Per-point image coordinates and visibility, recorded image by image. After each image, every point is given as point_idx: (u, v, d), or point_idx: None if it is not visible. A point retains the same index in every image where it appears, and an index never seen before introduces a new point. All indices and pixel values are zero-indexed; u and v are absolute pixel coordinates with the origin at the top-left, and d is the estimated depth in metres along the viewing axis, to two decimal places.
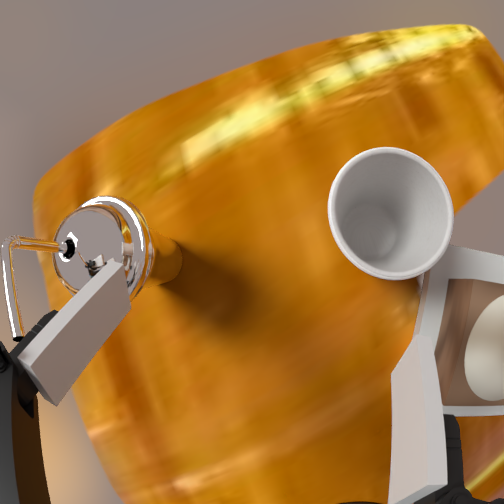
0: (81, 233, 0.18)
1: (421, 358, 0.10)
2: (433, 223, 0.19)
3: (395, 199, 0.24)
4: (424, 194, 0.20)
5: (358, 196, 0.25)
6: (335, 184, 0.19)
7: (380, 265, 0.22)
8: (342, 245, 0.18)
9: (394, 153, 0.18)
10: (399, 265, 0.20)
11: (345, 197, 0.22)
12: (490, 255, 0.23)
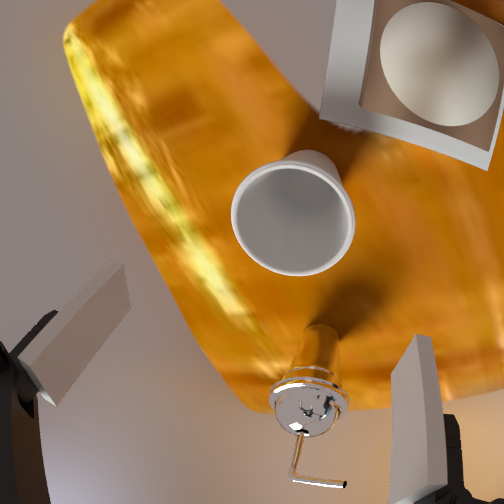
0: (293, 425, 0.27)
1: (421, 358, 0.10)
2: None
3: None
4: None
5: (275, 201, 0.28)
6: (269, 268, 0.23)
7: (341, 206, 0.23)
8: (320, 270, 0.22)
9: (237, 214, 0.22)
10: None
11: (277, 229, 0.26)
12: (333, 46, 0.21)
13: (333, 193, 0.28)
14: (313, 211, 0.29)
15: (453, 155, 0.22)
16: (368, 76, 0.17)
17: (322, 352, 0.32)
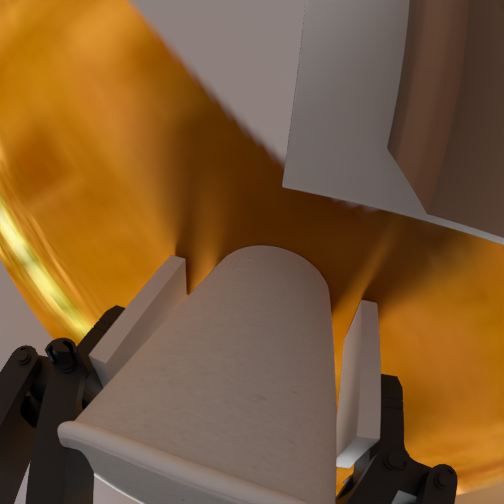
0: None
1: (363, 320, 0.12)
2: None
3: None
4: None
5: None
6: None
7: None
8: None
9: None
10: None
11: None
12: None
13: None
14: None
15: None
16: (465, 74, 0.03)
17: None
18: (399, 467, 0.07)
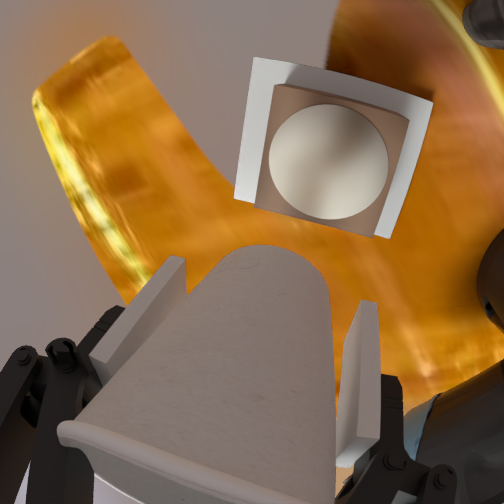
0: None
1: (363, 320, 0.12)
2: None
3: None
4: None
5: None
6: None
7: None
8: None
9: None
10: None
11: None
12: (244, 135, 0.28)
13: None
14: None
15: None
16: (259, 180, 0.25)
17: None
18: (399, 467, 0.07)
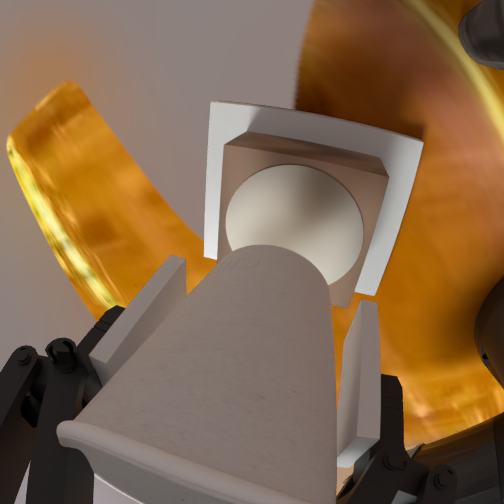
0: None
1: (363, 320, 0.12)
2: None
3: None
4: None
5: None
6: None
7: None
8: None
9: None
10: None
11: None
12: (208, 191, 0.26)
13: None
14: None
15: None
16: (218, 251, 0.23)
17: None
18: (399, 467, 0.07)
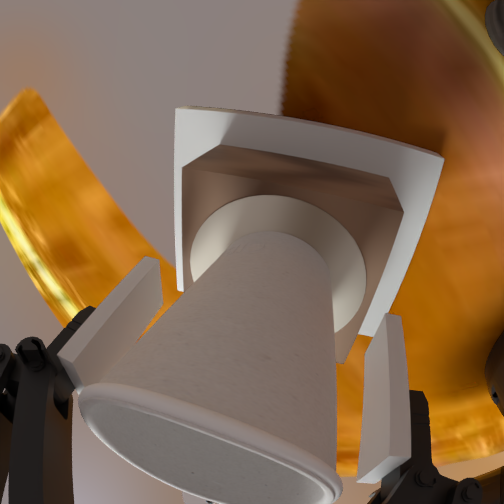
0: None
1: (388, 335, 0.11)
2: None
3: None
4: None
5: None
6: (182, 489, 0.10)
7: None
8: None
9: (98, 431, 0.09)
10: None
11: None
12: (177, 217, 0.22)
13: None
14: None
15: None
16: None
17: None
18: (428, 485, 0.06)
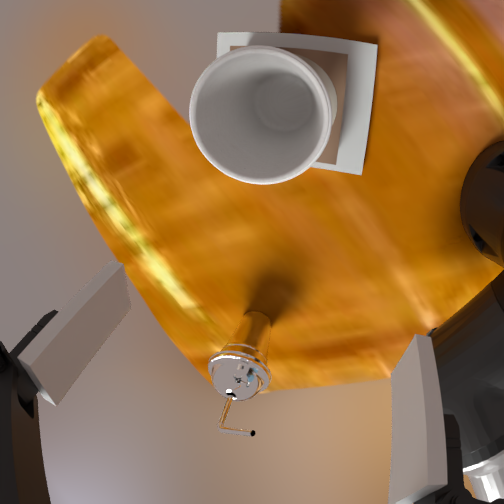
0: (222, 388, 0.36)
1: (421, 358, 0.10)
2: (265, 59, 0.17)
3: (245, 85, 0.22)
4: (234, 70, 0.18)
5: (247, 123, 0.24)
6: (238, 178, 0.19)
7: None
8: (299, 171, 0.18)
9: (195, 117, 0.18)
10: (316, 94, 0.18)
11: (250, 147, 0.22)
12: None
13: (312, 112, 0.24)
14: (292, 133, 0.25)
15: (326, 167, 0.32)
16: None
17: (249, 333, 0.42)
18: None
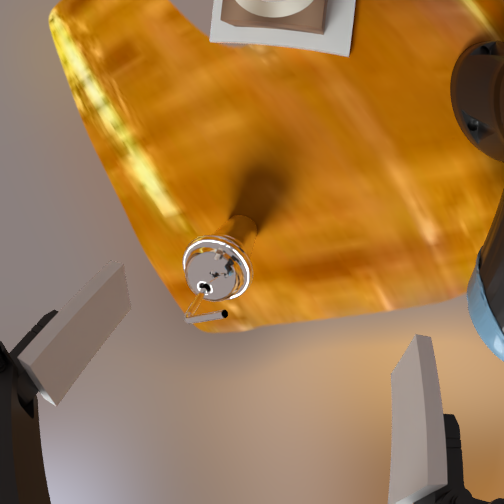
0: (195, 278, 0.33)
1: (421, 358, 0.10)
2: None
3: None
4: None
5: None
6: None
7: None
8: None
9: None
10: None
11: None
12: None
13: None
14: None
15: (314, 48, 0.29)
16: (223, 0, 0.24)
17: (231, 228, 0.39)
18: None
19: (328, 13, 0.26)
